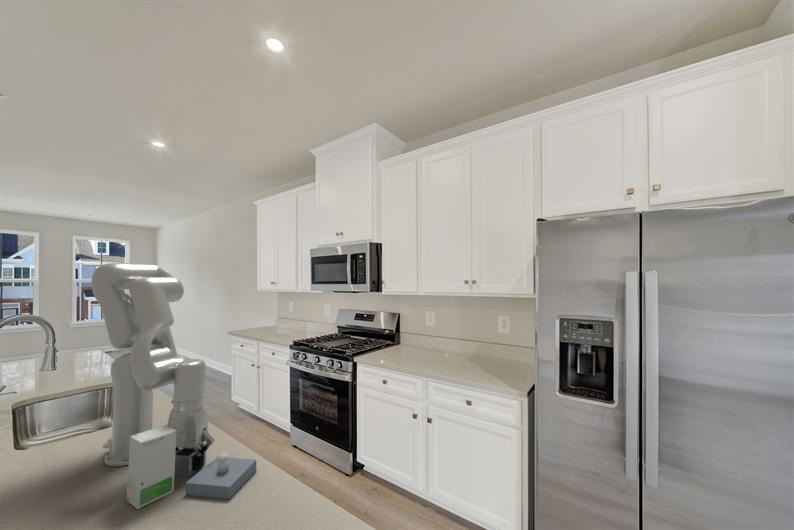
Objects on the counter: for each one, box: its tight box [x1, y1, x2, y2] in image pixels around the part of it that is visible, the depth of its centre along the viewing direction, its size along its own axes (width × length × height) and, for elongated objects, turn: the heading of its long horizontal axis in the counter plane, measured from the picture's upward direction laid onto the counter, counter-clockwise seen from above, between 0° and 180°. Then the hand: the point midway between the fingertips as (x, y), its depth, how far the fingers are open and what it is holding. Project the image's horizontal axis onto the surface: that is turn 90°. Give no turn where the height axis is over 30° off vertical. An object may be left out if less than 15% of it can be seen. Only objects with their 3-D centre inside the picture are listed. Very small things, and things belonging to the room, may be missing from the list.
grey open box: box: [174, 445, 207, 478], centre depth 93 cm, size 7×7×5 cm
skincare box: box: [126, 425, 176, 510], centre depth 82 cm, size 8×7×16 cm
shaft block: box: [185, 452, 257, 500], centre depth 87 cm, size 12×12×7 cm
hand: (187, 466), depth 93 cm, fingers closed on grey open box, 6 cm apart
